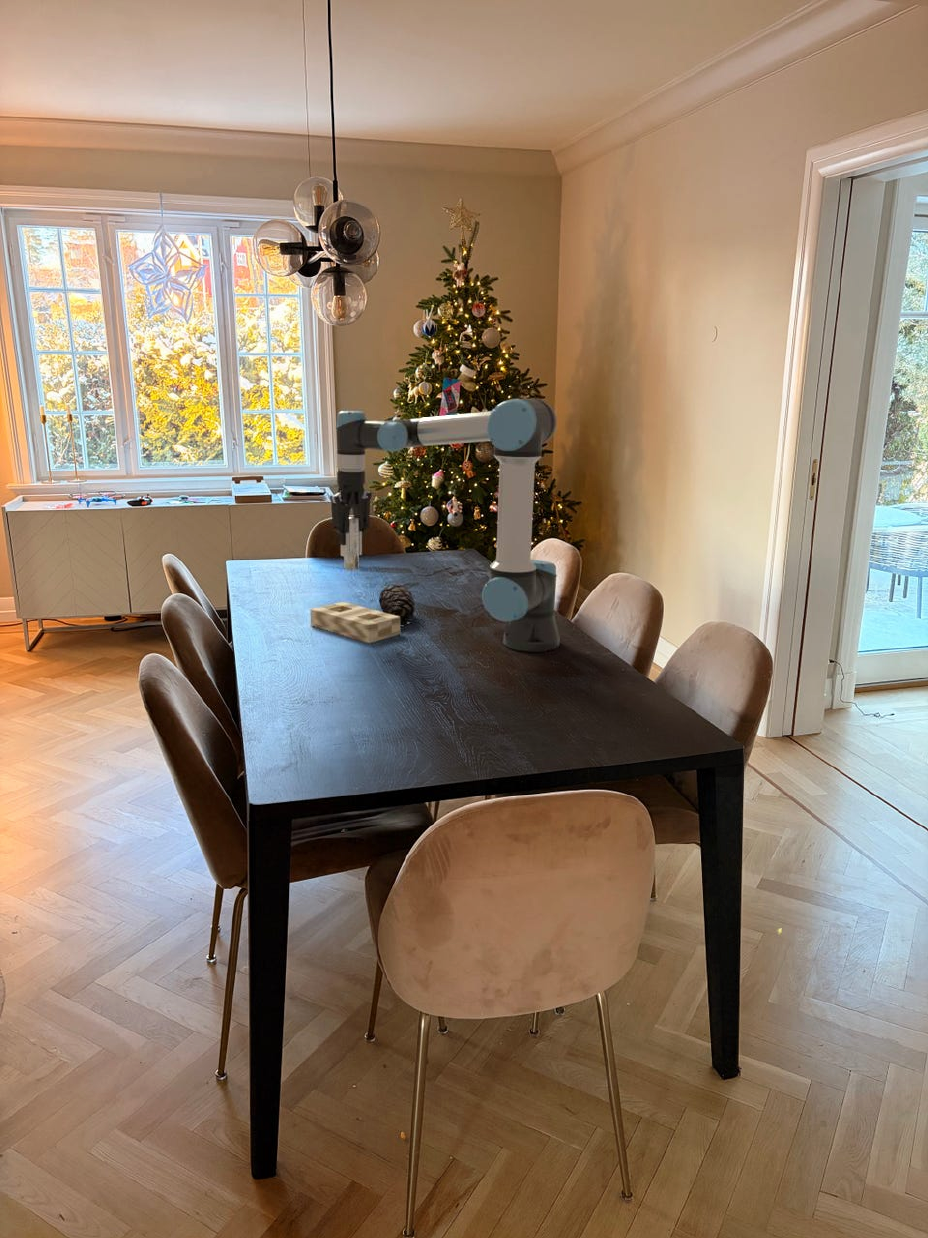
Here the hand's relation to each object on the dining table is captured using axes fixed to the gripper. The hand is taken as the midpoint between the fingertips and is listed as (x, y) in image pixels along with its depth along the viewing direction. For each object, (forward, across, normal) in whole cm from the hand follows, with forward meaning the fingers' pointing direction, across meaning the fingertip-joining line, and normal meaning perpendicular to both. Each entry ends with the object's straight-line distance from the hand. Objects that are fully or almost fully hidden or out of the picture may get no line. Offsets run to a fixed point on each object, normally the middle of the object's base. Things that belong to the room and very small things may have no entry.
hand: (351, 554), depth 246 cm
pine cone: (+22, -17, +3) cm, 27 cm away
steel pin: (+4, 0, 0) cm, 4 cm away
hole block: (+21, 0, +1) cm, 21 cm away
